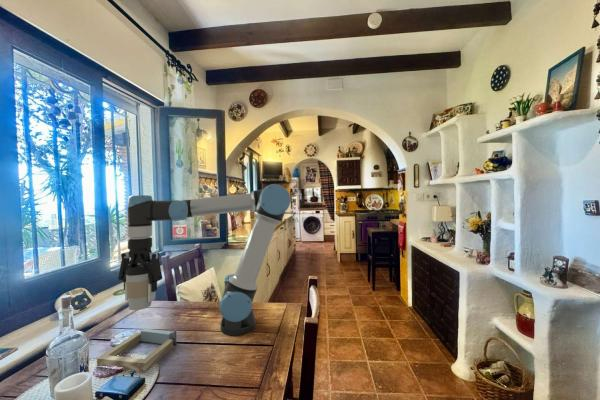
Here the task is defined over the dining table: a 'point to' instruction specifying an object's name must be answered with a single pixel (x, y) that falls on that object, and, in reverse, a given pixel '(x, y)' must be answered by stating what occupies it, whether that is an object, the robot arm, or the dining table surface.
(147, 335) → the leg
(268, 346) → the dining table surface
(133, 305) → the coffee cup
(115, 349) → the frame
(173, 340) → the pin
